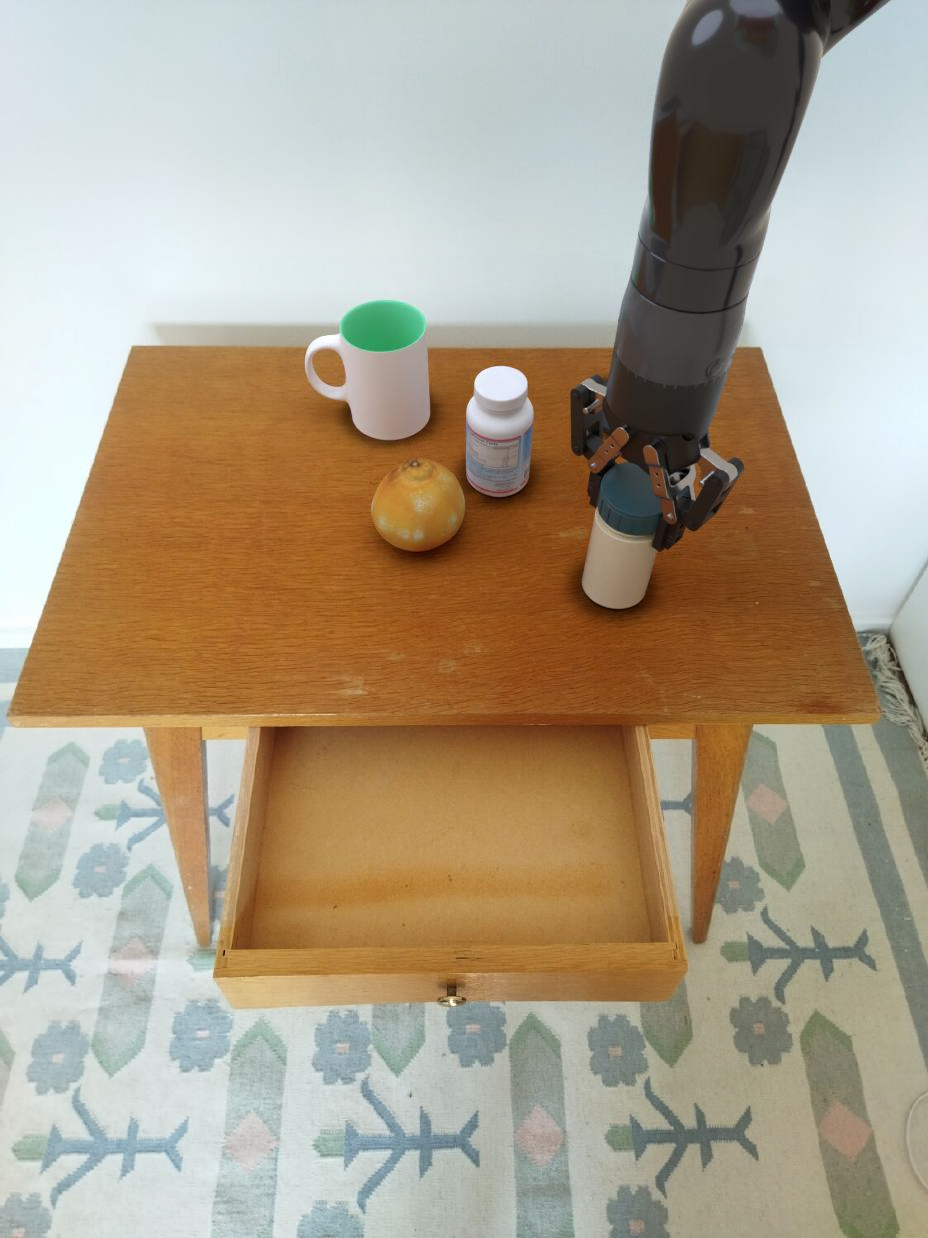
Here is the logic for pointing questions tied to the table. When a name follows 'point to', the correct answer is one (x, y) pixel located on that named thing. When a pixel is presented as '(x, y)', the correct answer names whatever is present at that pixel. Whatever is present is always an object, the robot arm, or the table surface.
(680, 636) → the table surface
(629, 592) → the jar
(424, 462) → the fruit
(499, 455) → the pill bottle
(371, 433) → the mug
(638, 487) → the lid
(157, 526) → the table surface
